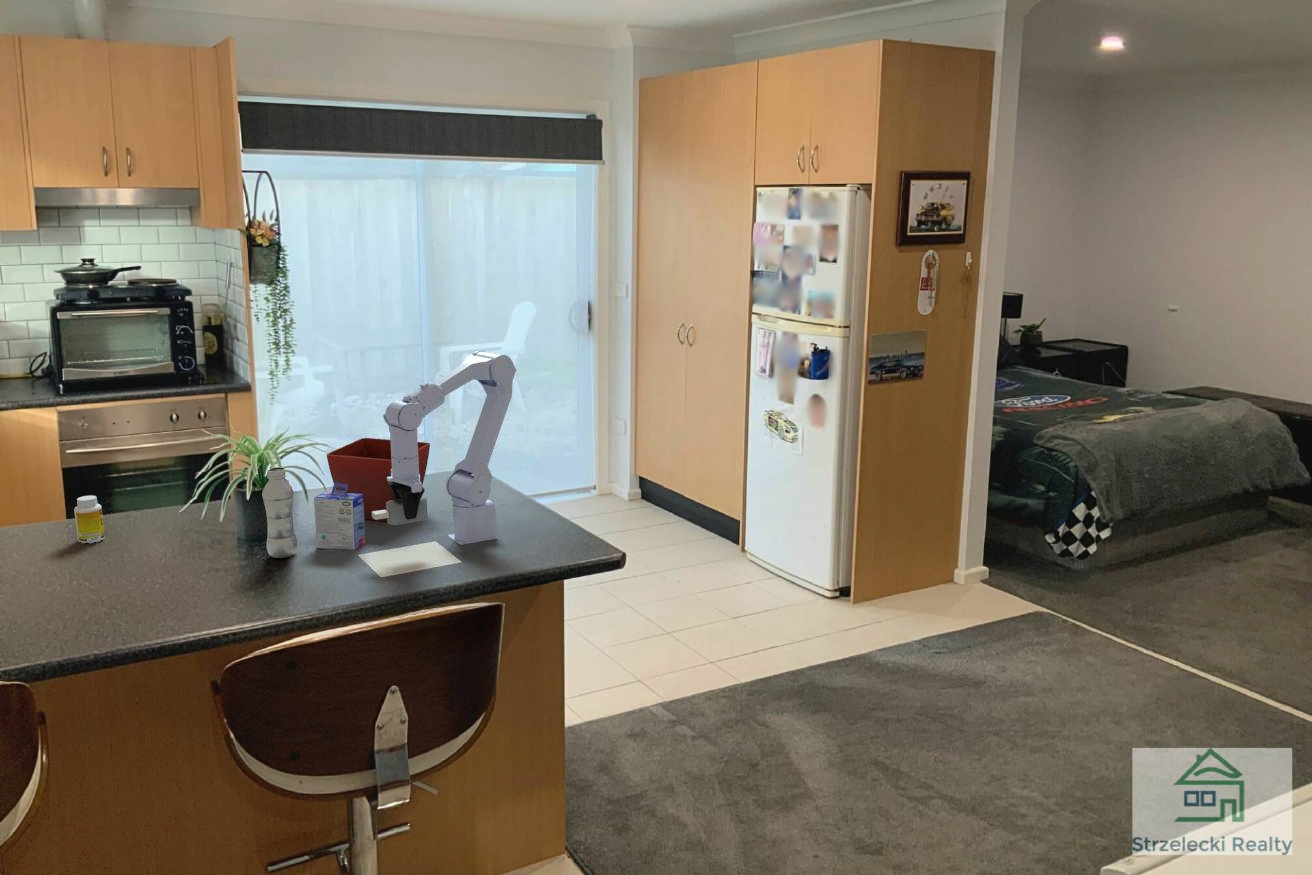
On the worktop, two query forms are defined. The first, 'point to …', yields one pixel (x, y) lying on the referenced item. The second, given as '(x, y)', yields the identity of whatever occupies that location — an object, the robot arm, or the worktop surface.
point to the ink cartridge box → (339, 519)
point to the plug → (401, 512)
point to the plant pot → (369, 470)
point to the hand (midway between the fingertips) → (407, 515)
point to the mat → (408, 559)
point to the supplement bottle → (89, 520)
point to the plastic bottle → (279, 514)
